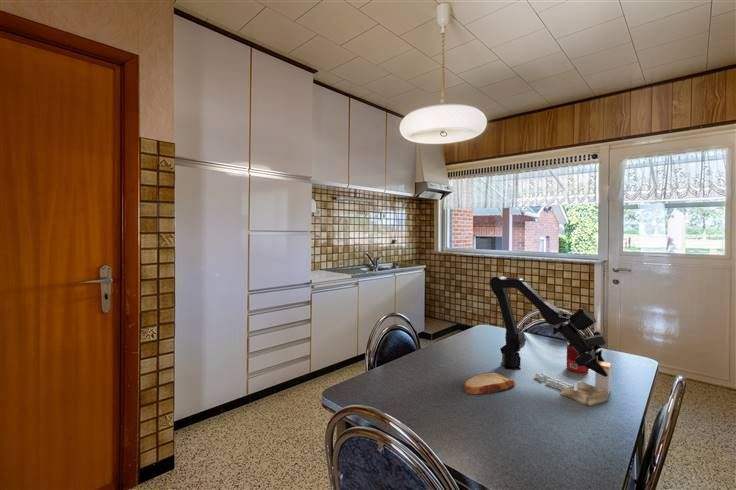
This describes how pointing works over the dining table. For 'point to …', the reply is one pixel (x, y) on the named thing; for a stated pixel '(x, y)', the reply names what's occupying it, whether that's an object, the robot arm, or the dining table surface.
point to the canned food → (571, 361)
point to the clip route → (552, 381)
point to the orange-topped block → (603, 381)
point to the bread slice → (487, 383)
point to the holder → (585, 394)
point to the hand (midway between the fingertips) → (607, 373)
